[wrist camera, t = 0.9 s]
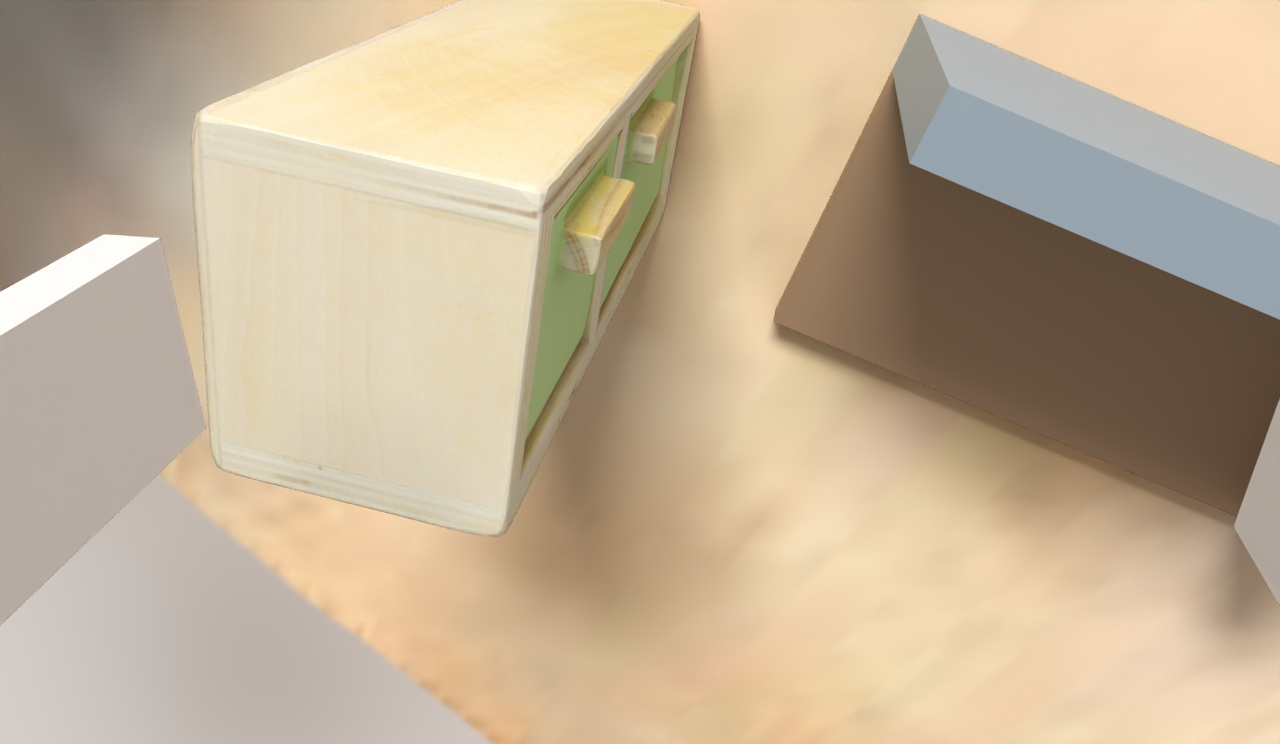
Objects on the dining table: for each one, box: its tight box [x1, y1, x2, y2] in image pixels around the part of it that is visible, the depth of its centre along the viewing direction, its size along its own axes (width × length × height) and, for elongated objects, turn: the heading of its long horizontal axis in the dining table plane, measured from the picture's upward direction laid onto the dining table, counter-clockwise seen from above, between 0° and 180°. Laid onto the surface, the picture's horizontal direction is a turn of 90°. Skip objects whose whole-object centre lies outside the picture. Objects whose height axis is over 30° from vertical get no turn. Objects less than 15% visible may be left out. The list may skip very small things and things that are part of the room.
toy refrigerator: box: [191, 0, 700, 537], centre depth 28 cm, size 8×7×21 cm
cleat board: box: [774, 14, 1280, 516], centre depth 31 cm, size 22×12×12 cm, turn 70°
